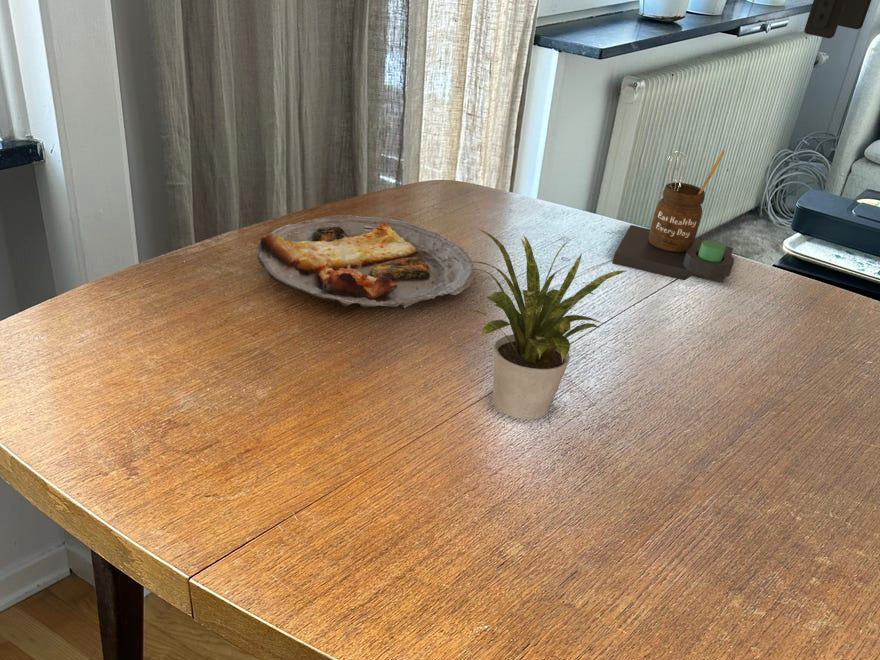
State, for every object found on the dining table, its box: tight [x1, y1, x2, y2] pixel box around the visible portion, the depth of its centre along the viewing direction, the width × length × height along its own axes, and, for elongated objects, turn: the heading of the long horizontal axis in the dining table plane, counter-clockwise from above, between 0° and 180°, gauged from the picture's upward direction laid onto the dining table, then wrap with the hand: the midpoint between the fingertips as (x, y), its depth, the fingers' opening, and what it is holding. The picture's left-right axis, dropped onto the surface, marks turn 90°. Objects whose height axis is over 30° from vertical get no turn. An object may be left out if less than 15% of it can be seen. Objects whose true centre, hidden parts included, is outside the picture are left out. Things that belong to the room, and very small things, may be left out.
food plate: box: [256, 214, 474, 309], centre depth 110 cm, size 25×23×4 cm
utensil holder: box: [649, 149, 725, 252], centre depth 121 cm, size 6×6×12 cm
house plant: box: [467, 227, 627, 420], centre depth 86 cm, size 14×14×16 cm
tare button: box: [698, 239, 727, 262], centre depth 119 cm, size 3×3×2 cm
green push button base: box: [611, 224, 735, 284], centre depth 123 cm, size 14×13×3 cm
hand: (832, 31), depth 106 cm, fingers open, 9 cm apart
